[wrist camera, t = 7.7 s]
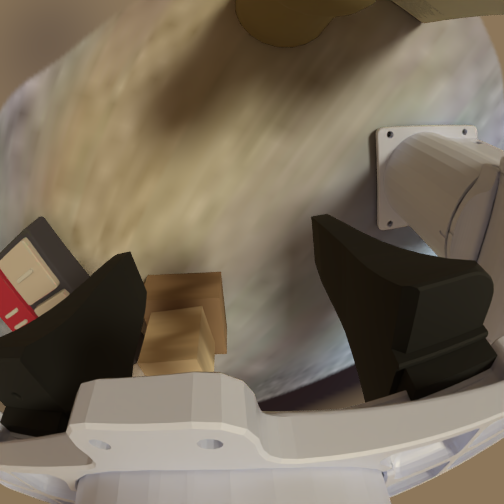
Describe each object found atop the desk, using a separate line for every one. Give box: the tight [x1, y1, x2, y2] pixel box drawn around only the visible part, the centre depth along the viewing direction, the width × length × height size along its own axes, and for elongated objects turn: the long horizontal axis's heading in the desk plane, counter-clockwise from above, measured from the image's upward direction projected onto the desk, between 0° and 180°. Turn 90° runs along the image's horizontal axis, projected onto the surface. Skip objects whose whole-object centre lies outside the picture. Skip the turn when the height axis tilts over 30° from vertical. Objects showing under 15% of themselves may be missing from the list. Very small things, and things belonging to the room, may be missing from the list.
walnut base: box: [144, 272, 227, 354], centre depth 25 cm, size 6×6×4 cm
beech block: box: [138, 306, 215, 376], centre depth 22 cm, size 4×4×5 cm
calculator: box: [0, 217, 145, 364], centre depth 25 cm, size 11×4×15 cm
